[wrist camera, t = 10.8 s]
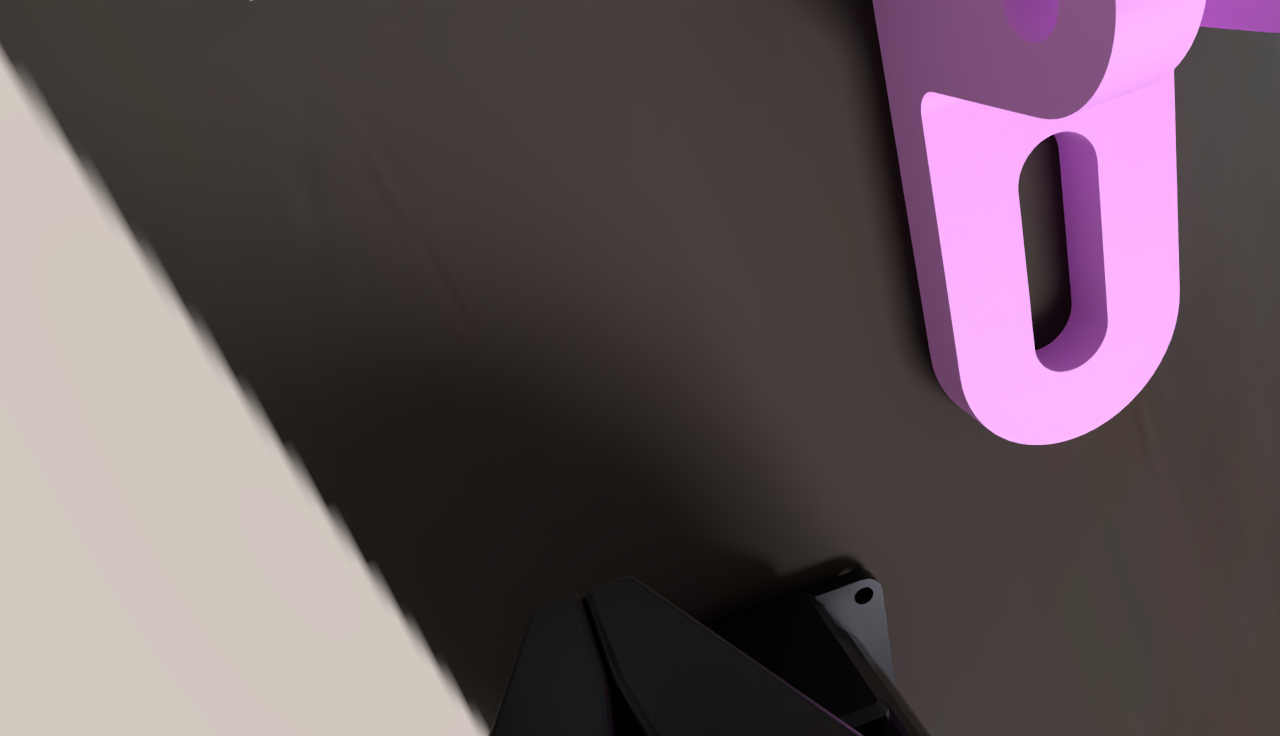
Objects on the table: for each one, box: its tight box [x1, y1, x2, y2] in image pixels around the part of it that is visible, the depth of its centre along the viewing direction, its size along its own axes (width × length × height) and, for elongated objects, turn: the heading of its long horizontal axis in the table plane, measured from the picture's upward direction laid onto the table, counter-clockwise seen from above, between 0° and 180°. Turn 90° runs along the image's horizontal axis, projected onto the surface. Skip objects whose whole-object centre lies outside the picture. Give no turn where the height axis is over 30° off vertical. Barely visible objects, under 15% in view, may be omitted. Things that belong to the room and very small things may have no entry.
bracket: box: [872, 0, 1280, 445], centre depth 18 cm, size 13×6×7 cm, turn 17°
